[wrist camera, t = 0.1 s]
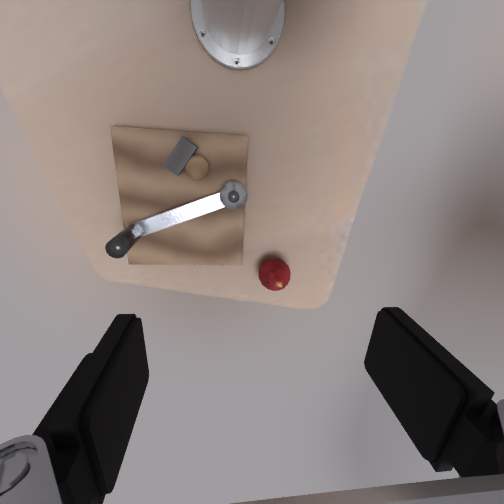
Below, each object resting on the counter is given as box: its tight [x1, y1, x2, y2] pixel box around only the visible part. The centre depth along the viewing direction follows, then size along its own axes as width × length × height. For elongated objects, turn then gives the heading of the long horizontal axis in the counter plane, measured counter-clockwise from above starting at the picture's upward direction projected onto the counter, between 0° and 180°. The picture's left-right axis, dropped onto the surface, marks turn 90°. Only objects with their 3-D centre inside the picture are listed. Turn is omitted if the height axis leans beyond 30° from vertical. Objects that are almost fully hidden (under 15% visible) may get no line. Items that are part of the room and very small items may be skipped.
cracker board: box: [110, 126, 248, 265], centre depth 41 cm, size 22×20×6 cm
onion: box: [259, 259, 290, 291], centre depth 46 cm, size 6×6×8 cm
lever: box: [105, 181, 247, 258], centre depth 38 cm, size 20×4×9 cm, turn 109°
